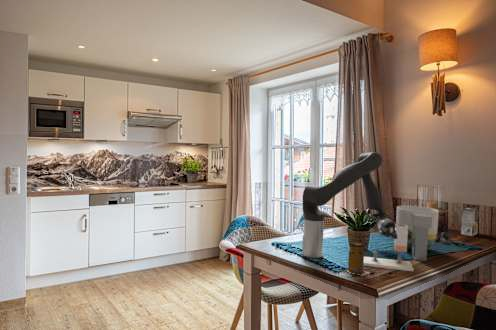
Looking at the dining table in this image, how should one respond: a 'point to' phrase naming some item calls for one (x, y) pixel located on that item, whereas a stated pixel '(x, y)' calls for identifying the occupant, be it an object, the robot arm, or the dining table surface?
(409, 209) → the planter
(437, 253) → the dining table surface
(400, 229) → the sleeve
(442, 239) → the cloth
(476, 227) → the coffee box
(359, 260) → the condiment
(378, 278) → the dining table surface
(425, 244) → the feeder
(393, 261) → the pin board
